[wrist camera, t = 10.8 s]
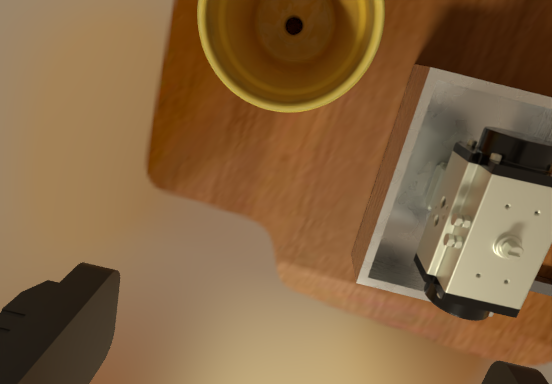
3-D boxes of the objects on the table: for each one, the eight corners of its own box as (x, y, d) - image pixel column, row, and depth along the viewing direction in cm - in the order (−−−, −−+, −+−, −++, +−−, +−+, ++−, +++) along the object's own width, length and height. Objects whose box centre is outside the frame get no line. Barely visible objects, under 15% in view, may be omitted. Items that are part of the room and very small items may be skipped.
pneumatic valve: (505, 122, 33) (606, 163, 22) (453, 256, 37) (515, 349, 26) (435, 106, 33) (499, 138, 22) (390, 241, 37) (424, 328, 26)
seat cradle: (414, 64, 33) (430, 67, 28) (554, 99, 33) (592, 107, 28) (351, 255, 39) (356, 282, 34) (470, 285, 39) (491, 317, 34)
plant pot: (312, 120, 35) (312, 147, 26) (203, 46, 34) (163, 47, 25) (393, 3, 32) (426, -13, 23) (276, -84, 31) (260, -138, 21)
